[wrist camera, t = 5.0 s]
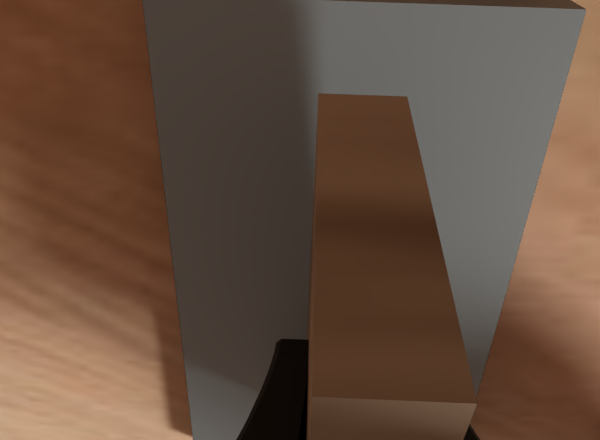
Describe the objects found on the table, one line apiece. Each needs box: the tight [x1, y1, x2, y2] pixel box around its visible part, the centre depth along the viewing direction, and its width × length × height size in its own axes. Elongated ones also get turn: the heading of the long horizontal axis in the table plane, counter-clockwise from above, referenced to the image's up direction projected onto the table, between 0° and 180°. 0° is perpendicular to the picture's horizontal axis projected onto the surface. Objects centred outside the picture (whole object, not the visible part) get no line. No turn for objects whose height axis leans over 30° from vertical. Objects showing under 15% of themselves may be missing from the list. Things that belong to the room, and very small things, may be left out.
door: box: [305, 93, 478, 440], centre depth 13 cm, size 13×4×7 cm, turn 179°
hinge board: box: [142, 0, 586, 440], centre depth 17 cm, size 18×10×4 cm, turn 178°
